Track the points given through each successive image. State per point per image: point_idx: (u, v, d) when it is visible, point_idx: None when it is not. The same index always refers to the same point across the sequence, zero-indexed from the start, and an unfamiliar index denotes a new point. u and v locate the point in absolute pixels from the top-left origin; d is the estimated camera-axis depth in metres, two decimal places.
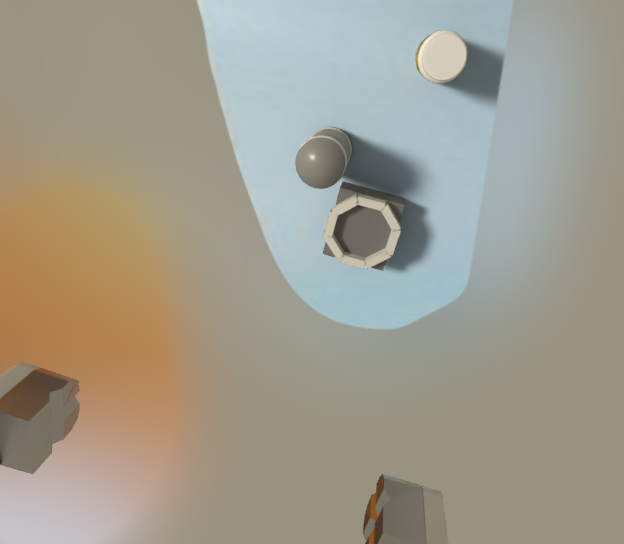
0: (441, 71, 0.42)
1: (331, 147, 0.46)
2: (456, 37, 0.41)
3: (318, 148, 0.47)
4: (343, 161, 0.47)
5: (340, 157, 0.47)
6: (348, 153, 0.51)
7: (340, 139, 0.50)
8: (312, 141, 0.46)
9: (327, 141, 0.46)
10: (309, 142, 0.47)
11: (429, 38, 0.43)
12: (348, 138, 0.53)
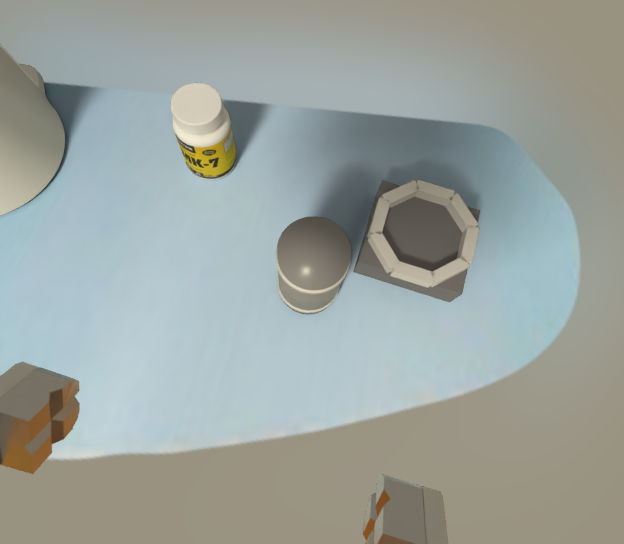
0: (211, 106, 0.35)
1: (291, 232, 0.32)
2: (176, 92, 0.35)
3: (291, 250, 0.31)
4: (311, 218, 0.32)
5: (305, 221, 0.32)
6: None
7: None
8: (280, 258, 0.31)
9: (281, 237, 0.32)
10: (281, 262, 0.31)
11: (177, 132, 0.37)
12: None
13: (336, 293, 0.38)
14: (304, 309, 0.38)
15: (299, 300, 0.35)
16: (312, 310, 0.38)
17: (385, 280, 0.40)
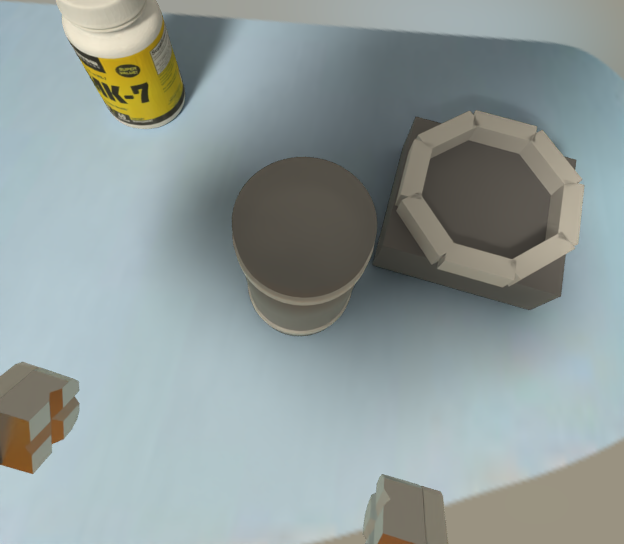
0: None
1: (259, 186, 0.16)
2: None
3: (259, 220, 0.16)
4: (299, 159, 0.17)
5: (287, 165, 0.17)
6: None
7: None
8: (238, 236, 0.16)
9: (241, 195, 0.16)
10: (240, 244, 0.16)
11: (69, 32, 0.21)
12: None
13: (346, 300, 0.23)
14: (293, 329, 0.22)
15: (282, 315, 0.20)
16: (307, 330, 0.22)
17: (425, 277, 0.25)
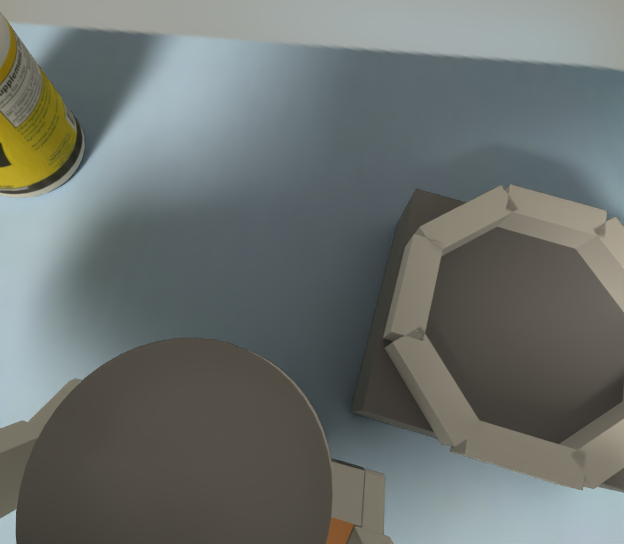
0: None
1: (90, 410, 0.08)
2: None
3: (78, 496, 0.07)
4: (179, 343, 0.08)
5: (153, 359, 0.08)
6: None
7: None
8: (27, 537, 0.07)
9: (47, 434, 0.08)
10: None
11: None
12: None
13: None
14: None
15: None
16: None
17: (430, 435, 0.16)
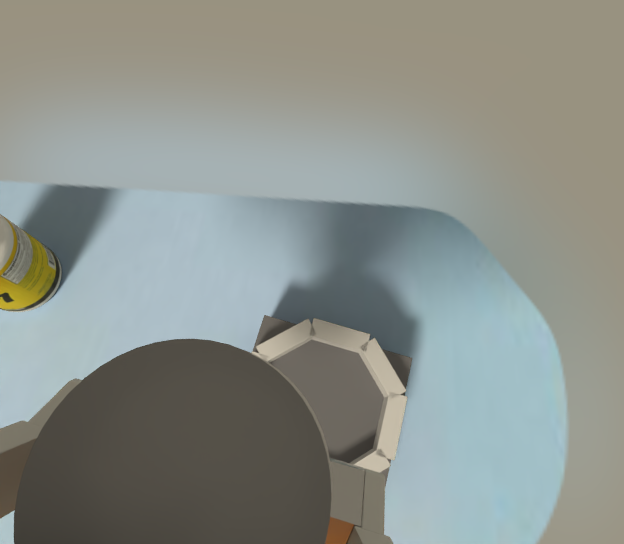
0: None
1: (88, 411, 0.08)
2: None
3: (76, 498, 0.07)
4: (177, 344, 0.08)
5: (151, 360, 0.08)
6: None
7: None
8: (25, 539, 0.07)
9: (45, 435, 0.08)
10: None
11: None
12: None
13: None
14: None
15: None
16: None
17: None
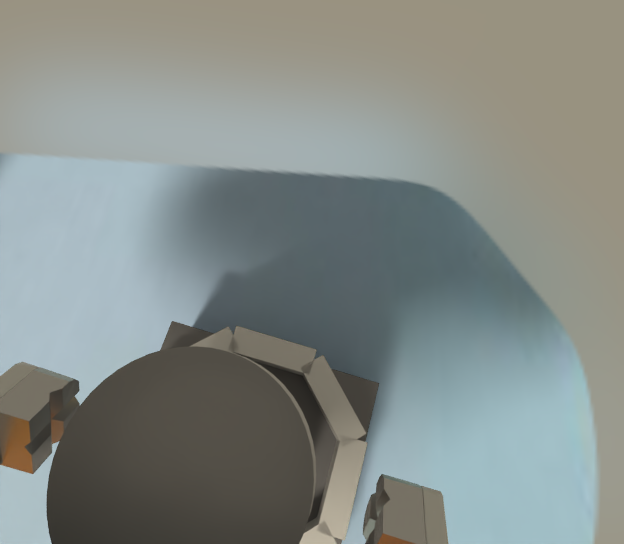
0: None
1: (107, 408, 0.09)
2: None
3: (99, 481, 0.09)
4: (183, 351, 0.10)
5: (161, 364, 0.10)
6: None
7: None
8: (56, 515, 0.09)
9: (71, 429, 0.09)
10: (58, 534, 0.09)
11: None
12: None
13: None
14: None
15: None
16: None
17: None
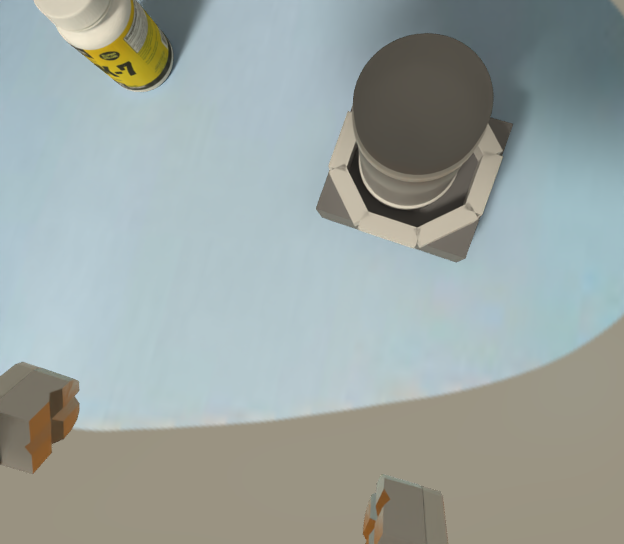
0: None
1: (379, 66, 0.17)
2: None
3: (378, 101, 0.17)
4: (419, 36, 0.17)
5: (407, 43, 0.17)
6: None
7: None
8: (358, 116, 0.17)
9: (362, 76, 0.17)
10: (360, 124, 0.17)
11: (58, 29, 0.26)
12: None
13: (452, 178, 0.24)
14: (399, 204, 0.24)
15: (392, 191, 0.22)
16: (412, 205, 0.24)
17: None
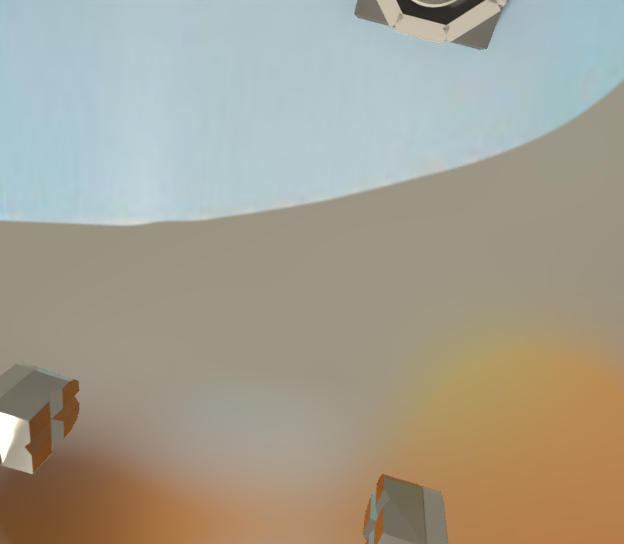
0: None
1: None
2: None
3: None
4: None
5: None
6: None
7: None
8: None
9: None
10: None
11: None
12: None
13: None
14: (431, 4, 0.27)
15: None
16: (442, 4, 0.27)
17: None
